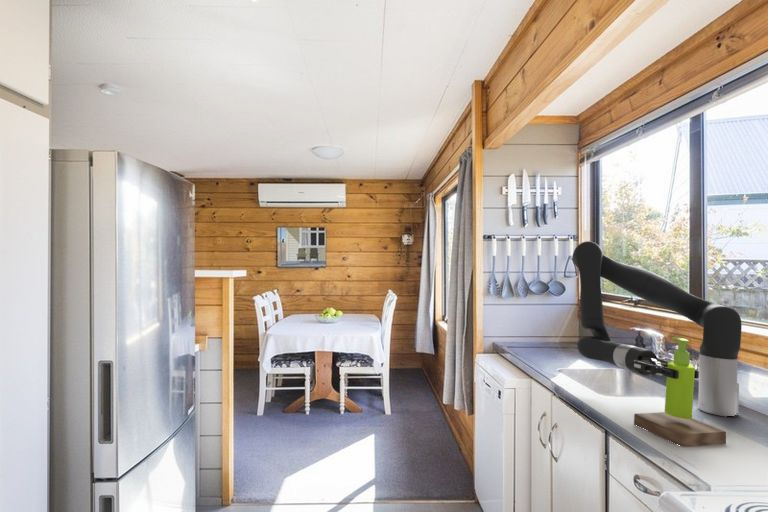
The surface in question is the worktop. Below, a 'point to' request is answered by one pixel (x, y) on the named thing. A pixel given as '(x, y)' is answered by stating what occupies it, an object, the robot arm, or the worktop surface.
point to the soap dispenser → (680, 384)
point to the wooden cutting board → (680, 429)
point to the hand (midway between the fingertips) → (687, 374)
